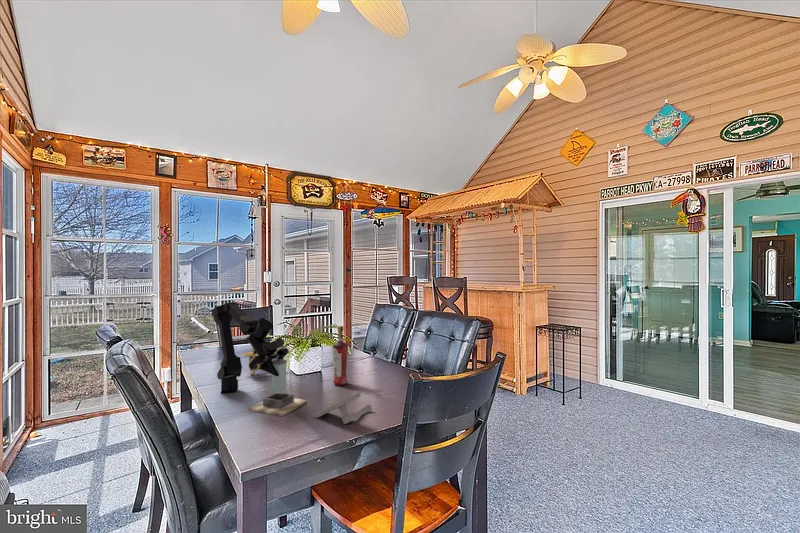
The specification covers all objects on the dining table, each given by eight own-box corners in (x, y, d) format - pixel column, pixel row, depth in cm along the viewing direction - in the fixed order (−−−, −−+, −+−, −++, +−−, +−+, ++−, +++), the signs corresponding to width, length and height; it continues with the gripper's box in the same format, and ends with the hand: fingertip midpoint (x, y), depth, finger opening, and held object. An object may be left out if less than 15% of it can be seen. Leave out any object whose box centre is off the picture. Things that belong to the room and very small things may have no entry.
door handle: (320, 435, 144) (355, 419, 134) (312, 414, 147) (346, 397, 137) (352, 419, 159) (386, 403, 149) (344, 400, 161) (377, 383, 151)
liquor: (329, 384, 188) (329, 326, 188) (341, 380, 193) (341, 324, 193) (338, 387, 183) (339, 328, 183) (350, 384, 188) (351, 326, 188)
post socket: (248, 410, 153) (248, 400, 153) (275, 397, 168) (275, 388, 168) (282, 416, 148) (282, 405, 148) (306, 402, 162) (306, 392, 162)
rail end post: (271, 391, 157) (271, 361, 157) (277, 388, 161) (278, 359, 161) (279, 392, 155) (279, 362, 155) (286, 389, 159) (286, 360, 159)
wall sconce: (264, 376, 200) (265, 328, 200) (245, 379, 195) (245, 329, 195) (258, 370, 212) (259, 324, 212) (240, 372, 207) (240, 326, 207)
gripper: (255, 336, 151) (278, 367, 147) (285, 328, 168) (307, 356, 164) (239, 354, 154) (261, 385, 150) (270, 345, 171) (291, 373, 167)
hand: (281, 374), depth 157 cm, fingers closed on rail end post, 4 cm apart
